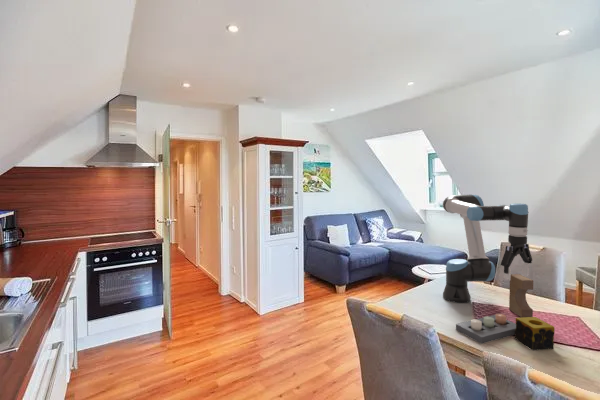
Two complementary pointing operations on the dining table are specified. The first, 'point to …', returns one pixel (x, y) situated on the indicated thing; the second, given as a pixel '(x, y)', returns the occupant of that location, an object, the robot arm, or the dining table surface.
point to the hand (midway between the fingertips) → (516, 277)
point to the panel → (487, 330)
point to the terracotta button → (501, 319)
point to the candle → (534, 333)
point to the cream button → (476, 325)
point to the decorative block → (520, 295)
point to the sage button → (488, 322)
